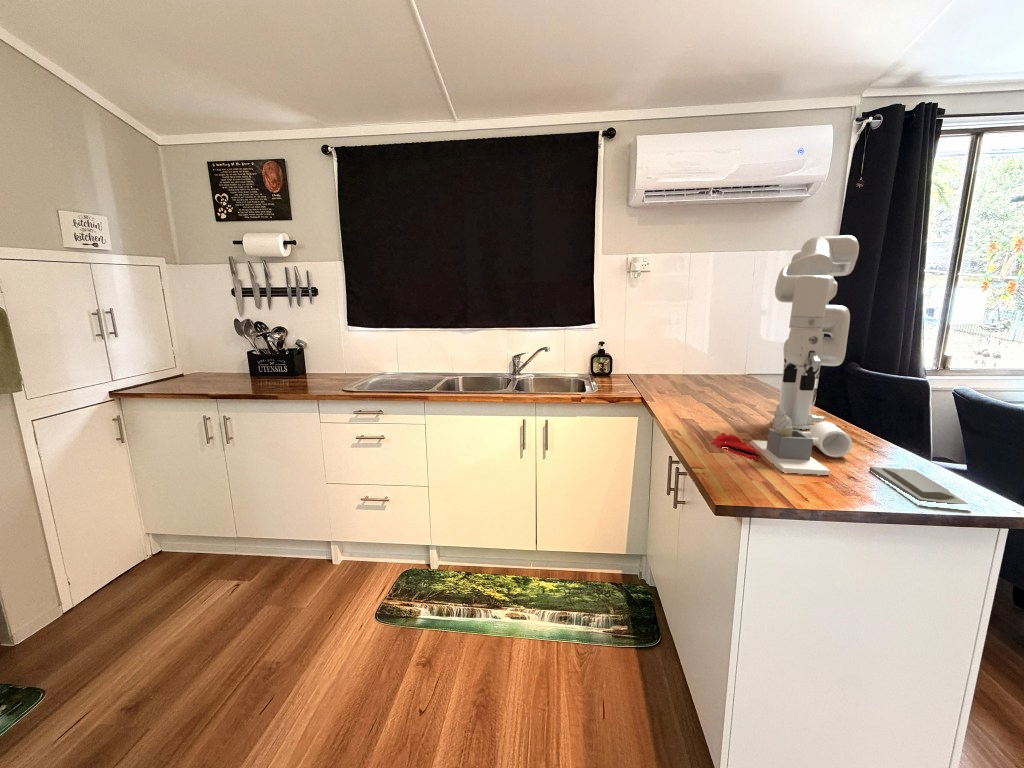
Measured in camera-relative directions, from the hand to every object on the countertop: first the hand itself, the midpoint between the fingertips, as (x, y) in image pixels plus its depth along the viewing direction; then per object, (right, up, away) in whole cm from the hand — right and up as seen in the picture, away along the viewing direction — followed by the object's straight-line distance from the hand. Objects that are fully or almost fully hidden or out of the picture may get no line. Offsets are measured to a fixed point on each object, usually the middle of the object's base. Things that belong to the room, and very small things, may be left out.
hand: (797, 386), depth 121 cm
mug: (+14, -20, +11) cm, 26 cm away
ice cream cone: (0, -19, +4) cm, 20 cm away
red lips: (-10, -19, +15) cm, 26 cm away
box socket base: (0, -21, +4) cm, 21 cm away
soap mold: (+19, -26, -14) cm, 35 cm away
